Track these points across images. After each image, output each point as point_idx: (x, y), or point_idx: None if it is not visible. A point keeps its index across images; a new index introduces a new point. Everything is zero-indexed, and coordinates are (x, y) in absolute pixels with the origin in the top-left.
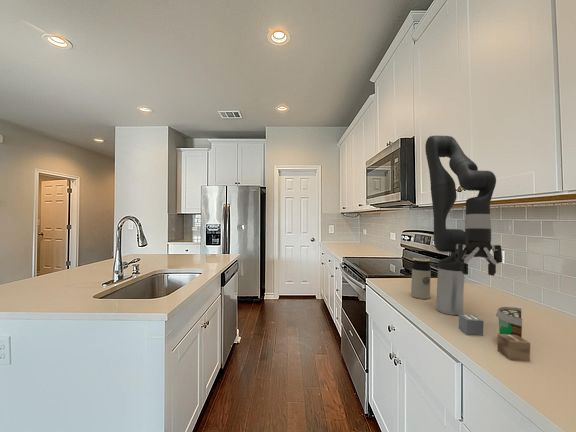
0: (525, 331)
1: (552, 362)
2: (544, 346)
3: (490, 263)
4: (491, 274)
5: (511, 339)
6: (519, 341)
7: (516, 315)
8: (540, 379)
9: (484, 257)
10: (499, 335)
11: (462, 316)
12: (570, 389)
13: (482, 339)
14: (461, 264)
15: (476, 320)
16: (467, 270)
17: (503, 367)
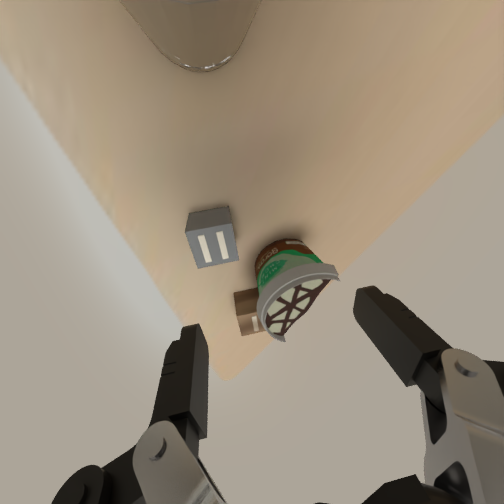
0: (357, 177)
1: None
2: (330, 250)
3: (427, 376)
4: (356, 315)
5: (248, 328)
6: (257, 330)
7: (294, 313)
8: (249, 338)
9: (461, 444)
10: (237, 318)
11: (191, 246)
12: (268, 343)
13: None
14: (156, 416)
15: (221, 263)
16: (204, 376)
17: (219, 331)
